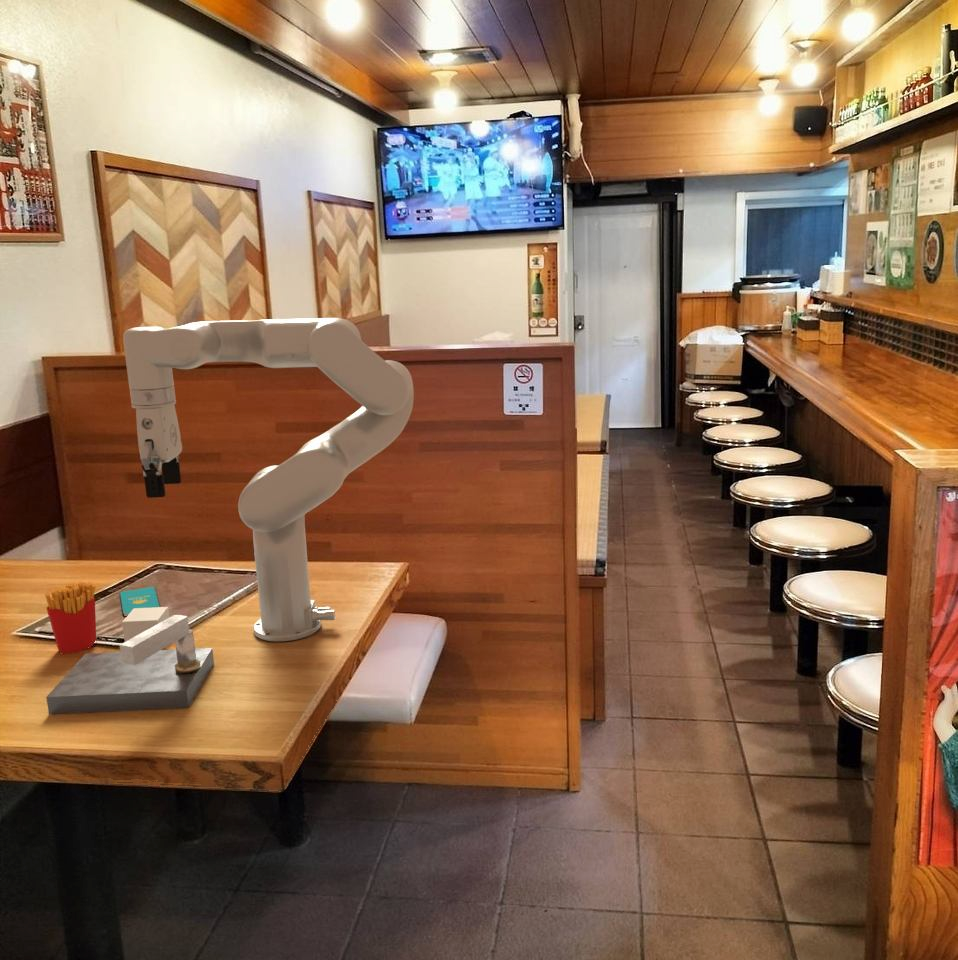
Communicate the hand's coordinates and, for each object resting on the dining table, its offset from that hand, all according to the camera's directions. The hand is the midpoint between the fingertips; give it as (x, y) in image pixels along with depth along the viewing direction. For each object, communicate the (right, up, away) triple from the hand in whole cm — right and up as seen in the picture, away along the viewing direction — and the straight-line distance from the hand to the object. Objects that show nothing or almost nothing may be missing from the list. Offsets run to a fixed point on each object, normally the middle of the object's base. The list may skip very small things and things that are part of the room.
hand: (164, 490), depth 167 cm
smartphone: (-13, -24, +24) cm, 37 cm away
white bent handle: (+7, -31, -20) cm, 37 cm away
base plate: (0, -33, -14) cm, 36 cm away
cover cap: (-4, -29, +3) cm, 29 cm away
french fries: (-17, -29, +3) cm, 34 cm away
